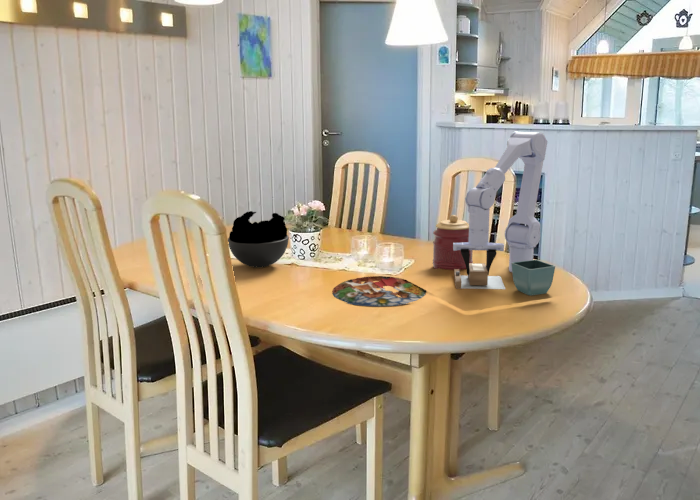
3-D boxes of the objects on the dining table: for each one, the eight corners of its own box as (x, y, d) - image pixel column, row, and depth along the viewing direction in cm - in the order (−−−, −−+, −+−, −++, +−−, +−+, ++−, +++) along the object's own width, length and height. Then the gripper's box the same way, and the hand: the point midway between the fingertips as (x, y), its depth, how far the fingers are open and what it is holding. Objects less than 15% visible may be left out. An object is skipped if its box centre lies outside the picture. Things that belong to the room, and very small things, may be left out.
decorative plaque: (409, 268, 207) (448, 293, 179) (409, 276, 208) (448, 302, 180) (317, 277, 200) (342, 304, 171) (317, 286, 200) (343, 314, 172)
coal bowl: (218, 266, 220) (214, 211, 215) (267, 256, 233) (265, 204, 228) (250, 278, 205) (248, 219, 201) (301, 266, 218) (299, 211, 214)
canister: (460, 275, 205) (462, 219, 201) (425, 269, 213) (425, 215, 209) (479, 266, 216) (481, 213, 212) (444, 261, 223) (445, 210, 219)
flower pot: (509, 292, 187) (510, 262, 185) (535, 289, 190) (536, 259, 188) (527, 301, 179) (529, 269, 177) (554, 297, 182) (556, 266, 180)
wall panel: (454, 278, 202) (454, 265, 201) (500, 279, 200) (500, 266, 199) (455, 291, 188) (456, 278, 187) (505, 292, 187) (506, 279, 186)
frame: (467, 275, 199) (468, 262, 198) (484, 276, 198) (484, 263, 197) (469, 284, 189) (470, 271, 188) (487, 285, 189) (488, 271, 188)
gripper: (454, 231, 187) (453, 277, 190) (505, 232, 186) (503, 278, 189) (453, 226, 194) (452, 270, 197) (503, 227, 192) (501, 271, 196)
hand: (477, 274), depth 193 cm, fingers closed on frame, 5 cm apart
